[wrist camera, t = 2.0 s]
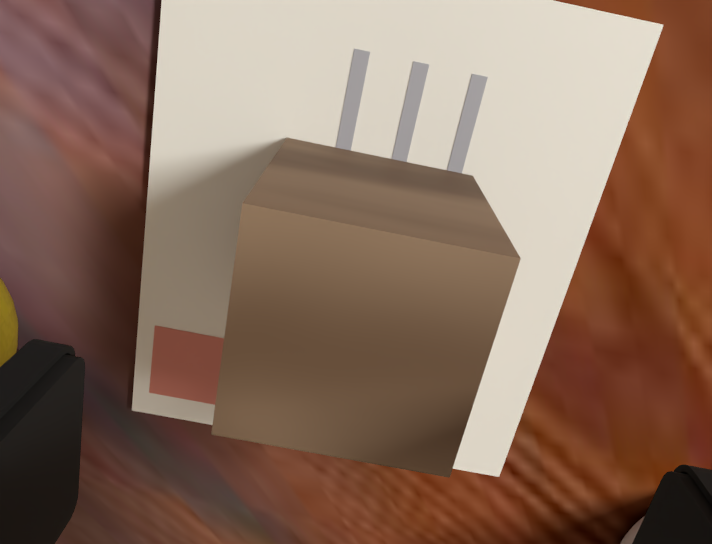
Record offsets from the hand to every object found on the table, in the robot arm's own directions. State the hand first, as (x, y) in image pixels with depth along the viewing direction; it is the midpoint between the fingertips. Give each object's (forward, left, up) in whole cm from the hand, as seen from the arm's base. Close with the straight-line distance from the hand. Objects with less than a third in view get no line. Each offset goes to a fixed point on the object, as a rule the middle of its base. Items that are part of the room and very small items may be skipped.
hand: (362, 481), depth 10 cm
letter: (-1, 0, -9) cm, 9 cm away
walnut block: (-1, 0, -9) cm, 9 cm away
